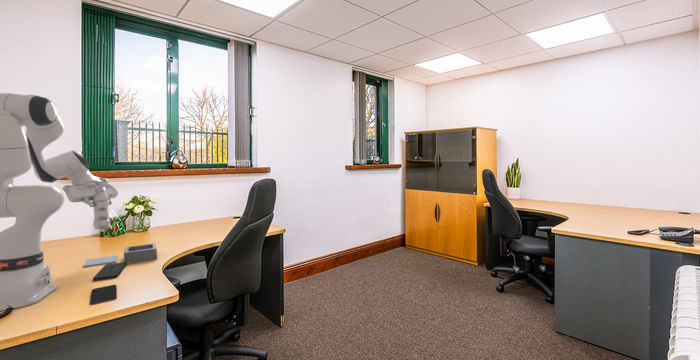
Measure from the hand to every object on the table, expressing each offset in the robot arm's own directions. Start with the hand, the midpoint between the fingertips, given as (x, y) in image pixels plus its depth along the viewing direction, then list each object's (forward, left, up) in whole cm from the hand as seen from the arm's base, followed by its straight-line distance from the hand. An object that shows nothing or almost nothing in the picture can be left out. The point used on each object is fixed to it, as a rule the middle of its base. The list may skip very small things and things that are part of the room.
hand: (101, 205), depth 147 cm
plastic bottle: (+1, +1, -12) cm, 12 cm away
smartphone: (-50, -4, -28) cm, 57 cm away
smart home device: (-21, -4, -28) cm, 35 cm away
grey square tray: (-3, -14, -27) cm, 31 cm away
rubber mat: (+1, +2, -27) cm, 27 cm away
